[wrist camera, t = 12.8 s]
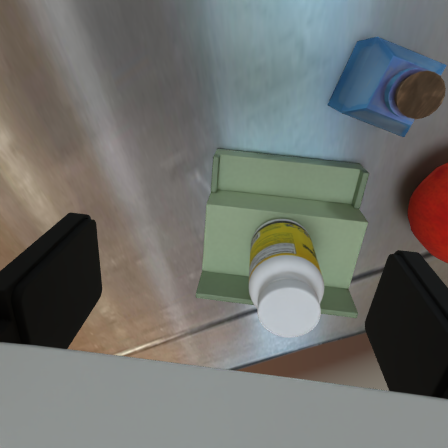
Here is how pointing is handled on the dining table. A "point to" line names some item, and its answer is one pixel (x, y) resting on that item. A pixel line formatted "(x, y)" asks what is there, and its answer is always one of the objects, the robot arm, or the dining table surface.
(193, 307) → the dining table surface
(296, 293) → the pill bottle
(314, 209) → the green flanged tray
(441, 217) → the apple
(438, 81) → the perfume bottle
